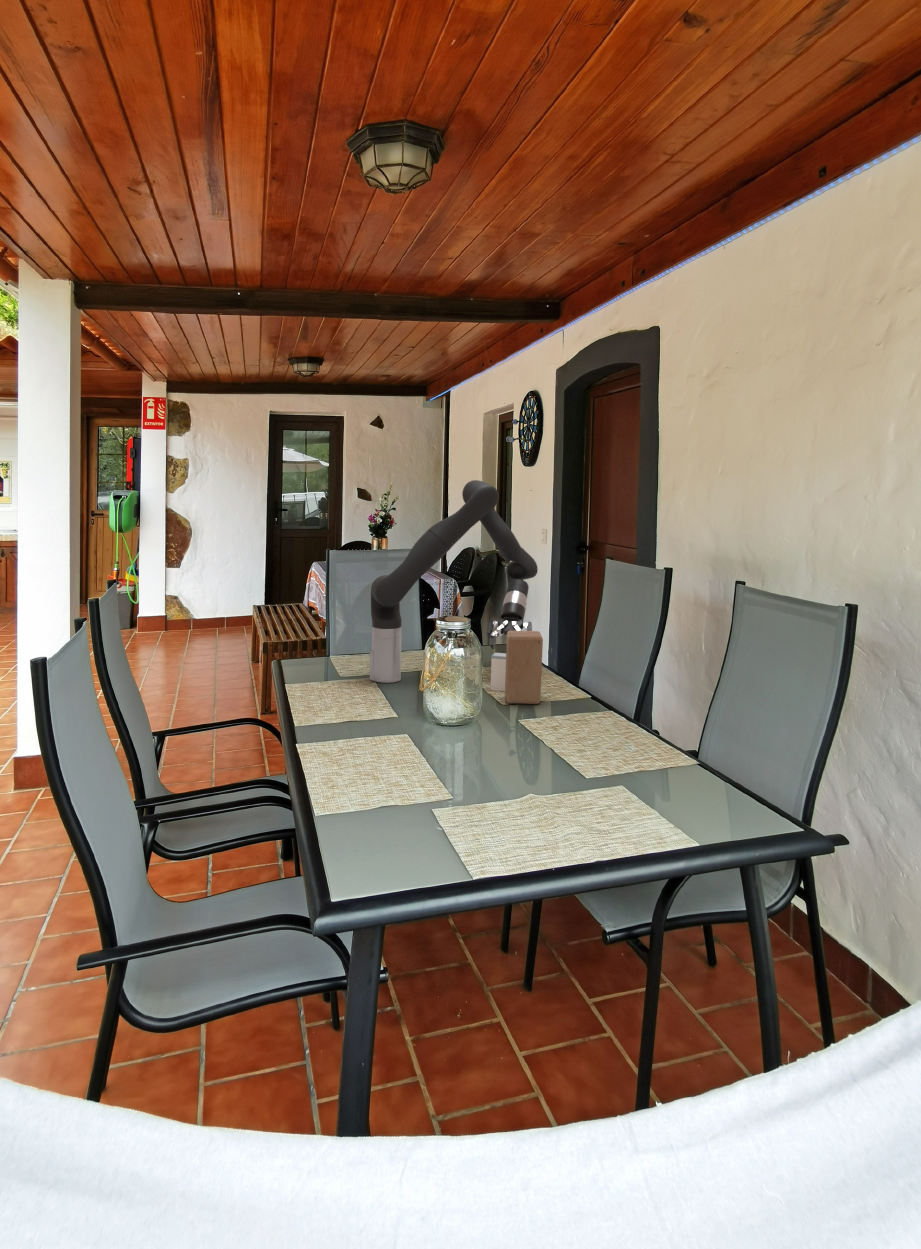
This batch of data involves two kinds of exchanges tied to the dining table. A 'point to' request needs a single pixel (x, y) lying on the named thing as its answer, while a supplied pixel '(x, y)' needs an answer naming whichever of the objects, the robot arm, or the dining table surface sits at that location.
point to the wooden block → (523, 667)
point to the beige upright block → (498, 671)
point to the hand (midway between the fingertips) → (505, 648)
